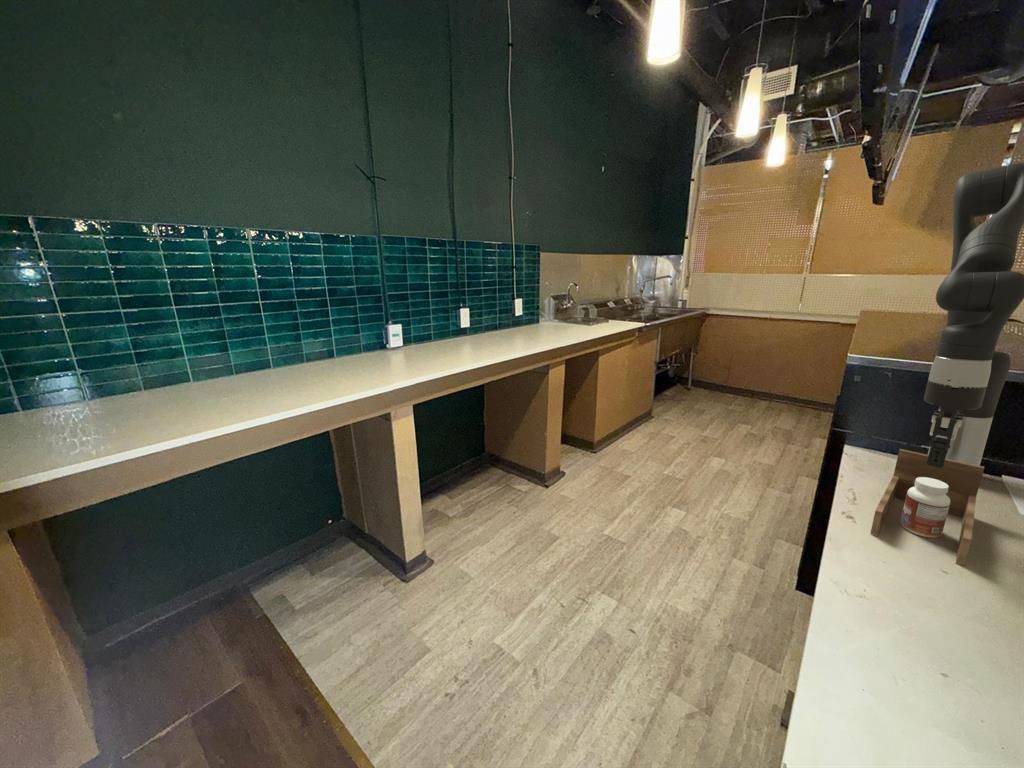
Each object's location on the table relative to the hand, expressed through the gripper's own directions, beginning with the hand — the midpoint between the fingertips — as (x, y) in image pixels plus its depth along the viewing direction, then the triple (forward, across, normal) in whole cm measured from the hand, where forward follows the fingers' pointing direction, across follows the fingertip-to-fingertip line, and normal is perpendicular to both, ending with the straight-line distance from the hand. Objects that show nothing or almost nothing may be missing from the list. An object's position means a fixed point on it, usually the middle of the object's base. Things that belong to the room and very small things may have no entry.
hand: (936, 459), depth 79 cm
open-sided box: (+16, -2, 0) cm, 16 cm away
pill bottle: (+16, 0, 0) cm, 16 cm away
